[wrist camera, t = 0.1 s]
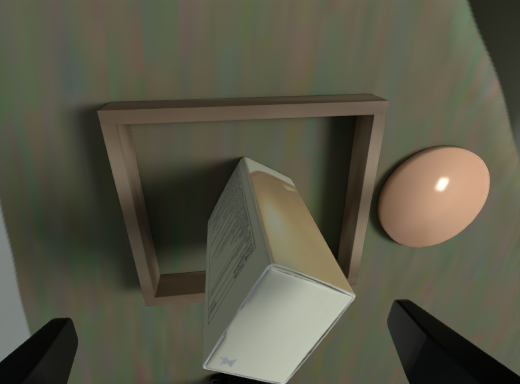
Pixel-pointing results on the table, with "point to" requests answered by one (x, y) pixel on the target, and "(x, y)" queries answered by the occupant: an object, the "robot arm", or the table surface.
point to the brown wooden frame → (140, 112)
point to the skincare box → (267, 279)
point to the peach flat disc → (433, 195)
